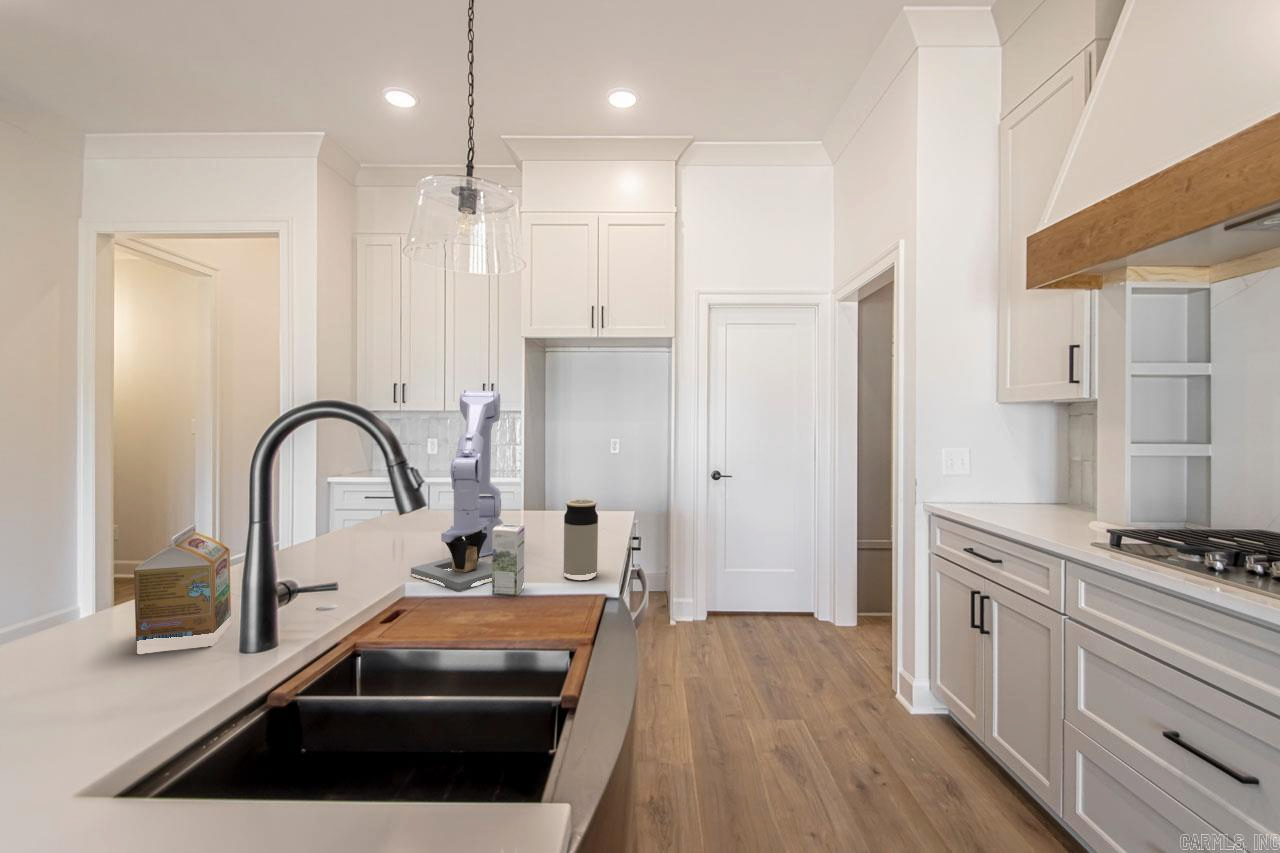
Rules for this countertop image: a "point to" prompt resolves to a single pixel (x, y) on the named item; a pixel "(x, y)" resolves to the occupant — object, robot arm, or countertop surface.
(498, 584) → the syrup box
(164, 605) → the milk carton
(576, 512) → the travel mug
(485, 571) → the keyhole board
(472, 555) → the keyhole peg
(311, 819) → the countertop surface
